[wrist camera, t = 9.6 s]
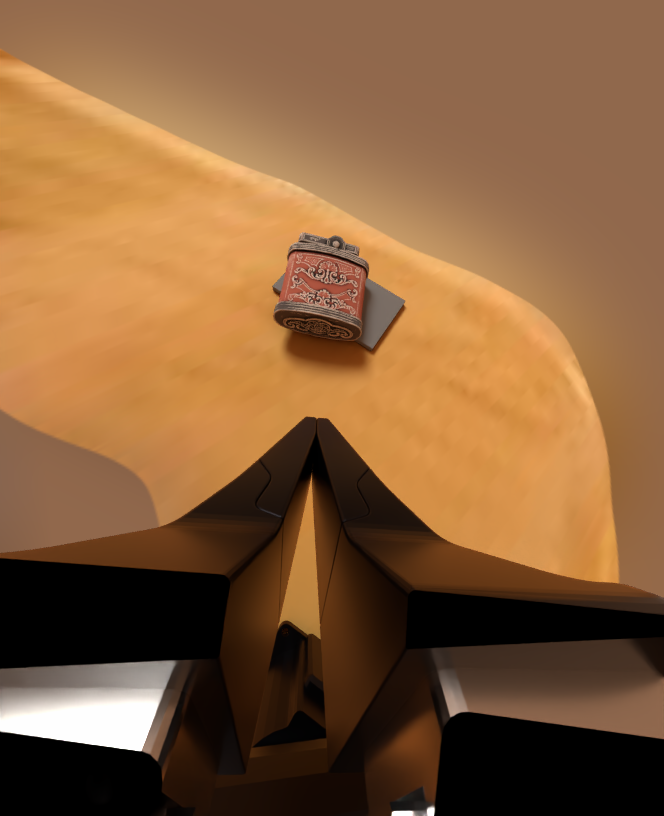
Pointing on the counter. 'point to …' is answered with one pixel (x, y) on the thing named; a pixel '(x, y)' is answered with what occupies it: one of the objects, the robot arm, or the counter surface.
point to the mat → (371, 311)
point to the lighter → (323, 288)
